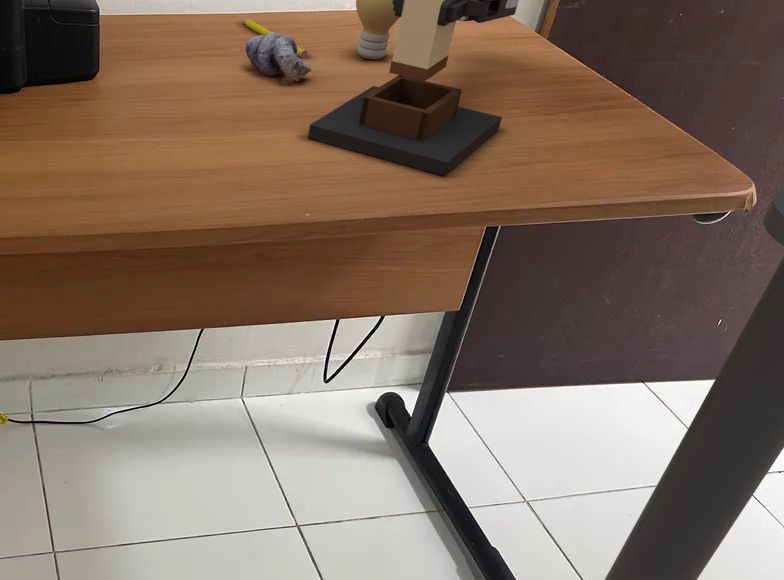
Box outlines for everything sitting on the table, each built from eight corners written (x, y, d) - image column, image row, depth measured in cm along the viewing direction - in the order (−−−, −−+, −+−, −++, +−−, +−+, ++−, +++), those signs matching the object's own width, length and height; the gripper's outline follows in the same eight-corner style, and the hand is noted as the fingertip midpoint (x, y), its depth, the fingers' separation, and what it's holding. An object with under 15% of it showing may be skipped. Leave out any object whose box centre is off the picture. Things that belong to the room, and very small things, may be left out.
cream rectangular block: (445, 67, 97) (472, -48, 90) (424, 81, 94) (451, -37, 86) (410, 59, 99) (434, -54, 92) (389, 72, 96) (411, -44, 88)
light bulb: (363, 66, 118) (378, -18, 111) (338, 51, 122) (351, -31, 115) (404, 61, 120) (421, -22, 113) (378, 47, 124) (393, -34, 117)
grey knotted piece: (306, 93, 114) (245, 75, 119) (326, 52, 112) (264, 36, 118) (288, 73, 109) (226, 56, 114) (308, 30, 108) (245, 15, 113)
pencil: (306, 57, 120) (307, 49, 120) (300, 58, 120) (301, 50, 119) (246, 23, 131) (246, 16, 131) (240, 24, 131) (240, 17, 130)
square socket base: (498, 130, 102) (510, 89, 99) (443, 176, 93) (454, 133, 90) (371, 98, 109) (378, 59, 106) (307, 138, 100) (313, 96, 97)
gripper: (431, -72, 101) (363, -44, 91) (557, -52, 95) (499, -19, 85) (416, 0, 106) (350, 35, 96) (535, 24, 100) (478, 64, 90)
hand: (421, 10), depth 90 cm, fingers closed on cream rectangular block, 4 cm apart
